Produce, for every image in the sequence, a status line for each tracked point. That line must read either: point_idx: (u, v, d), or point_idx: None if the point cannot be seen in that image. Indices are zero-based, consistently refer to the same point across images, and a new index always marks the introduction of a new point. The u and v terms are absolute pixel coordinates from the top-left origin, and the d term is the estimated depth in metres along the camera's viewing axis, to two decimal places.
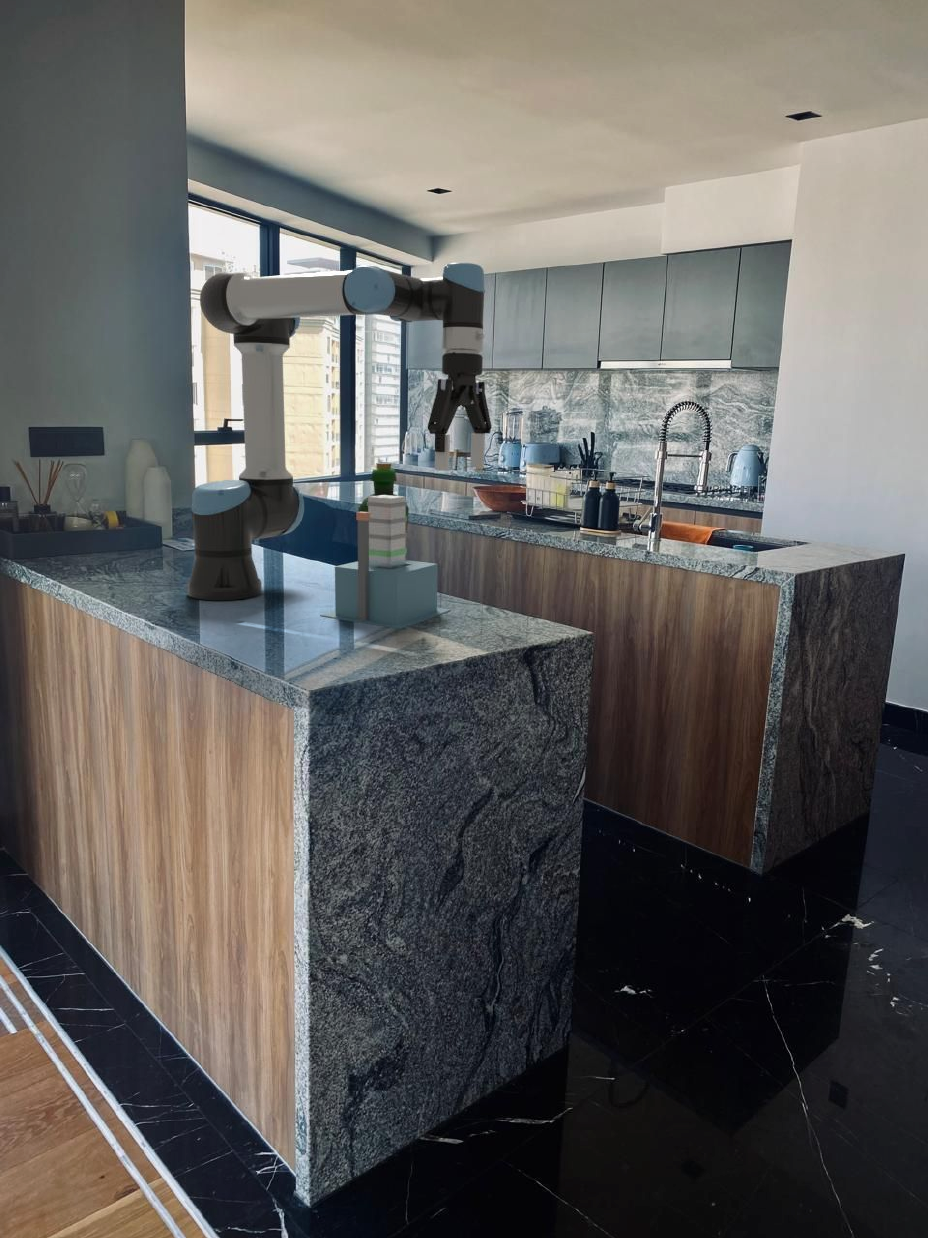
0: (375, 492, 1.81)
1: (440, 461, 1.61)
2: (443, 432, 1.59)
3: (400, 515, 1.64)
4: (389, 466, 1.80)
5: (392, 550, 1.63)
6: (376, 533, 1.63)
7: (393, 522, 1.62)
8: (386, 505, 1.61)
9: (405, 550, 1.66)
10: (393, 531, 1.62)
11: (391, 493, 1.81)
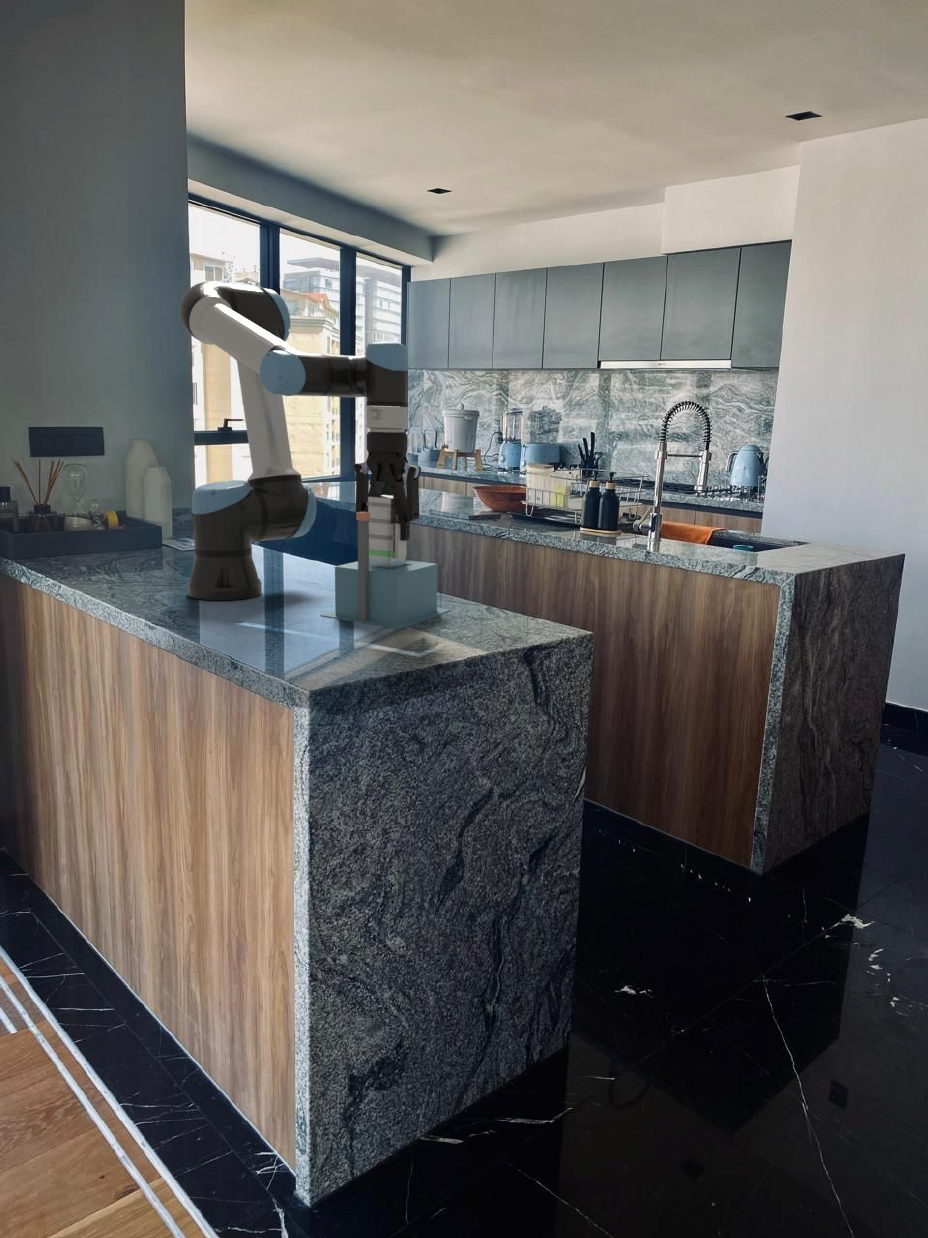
0: None
1: None
2: None
3: None
4: None
5: (392, 550, 1.63)
6: (376, 533, 1.63)
7: (393, 522, 1.62)
8: (386, 505, 1.61)
9: None
10: (393, 531, 1.62)
11: (391, 493, 1.81)
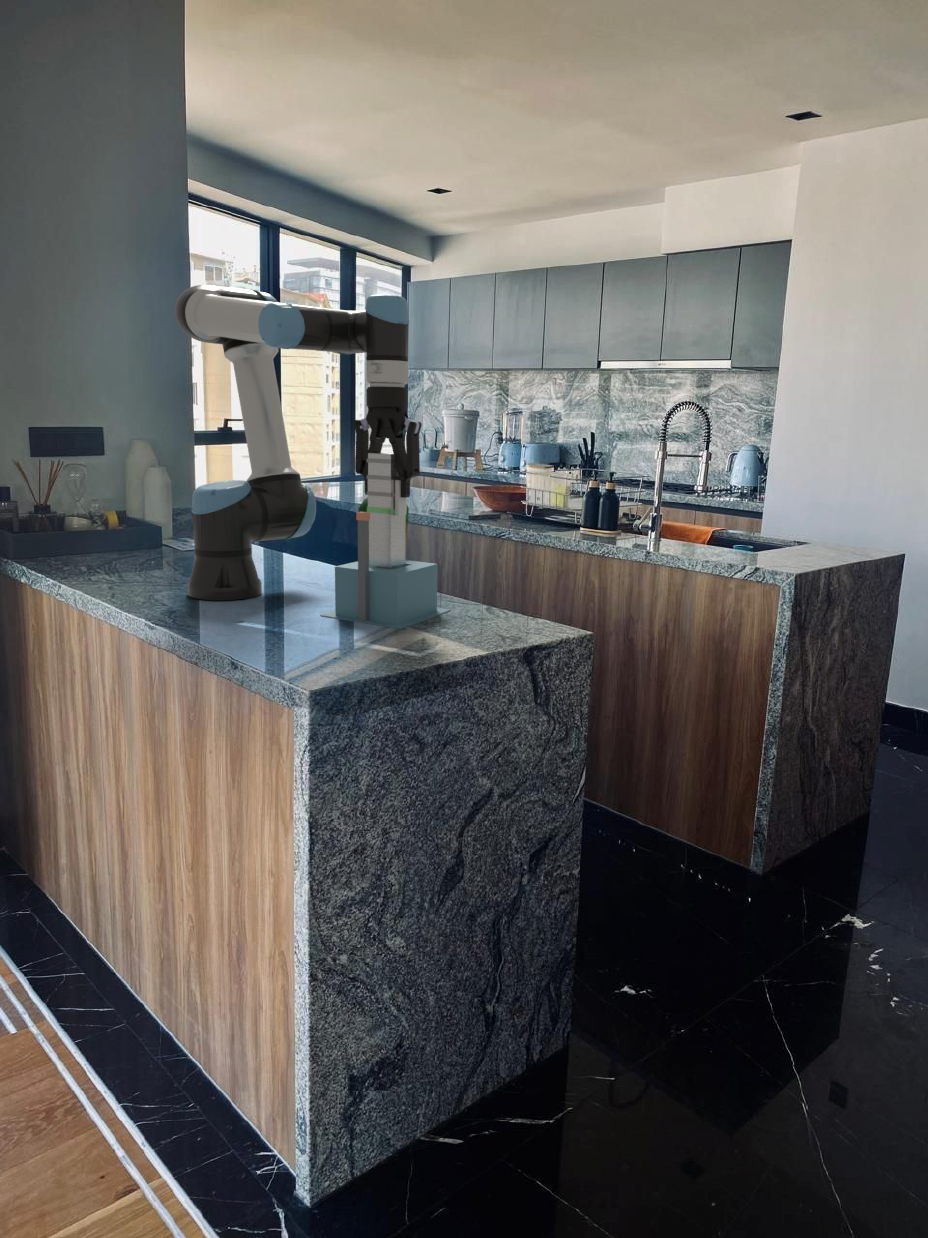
0: None
1: None
2: (364, 476, 1.64)
3: None
4: None
5: (392, 507, 1.61)
6: (376, 490, 1.61)
7: (393, 478, 1.60)
8: (386, 461, 1.59)
9: None
10: (393, 487, 1.60)
11: None
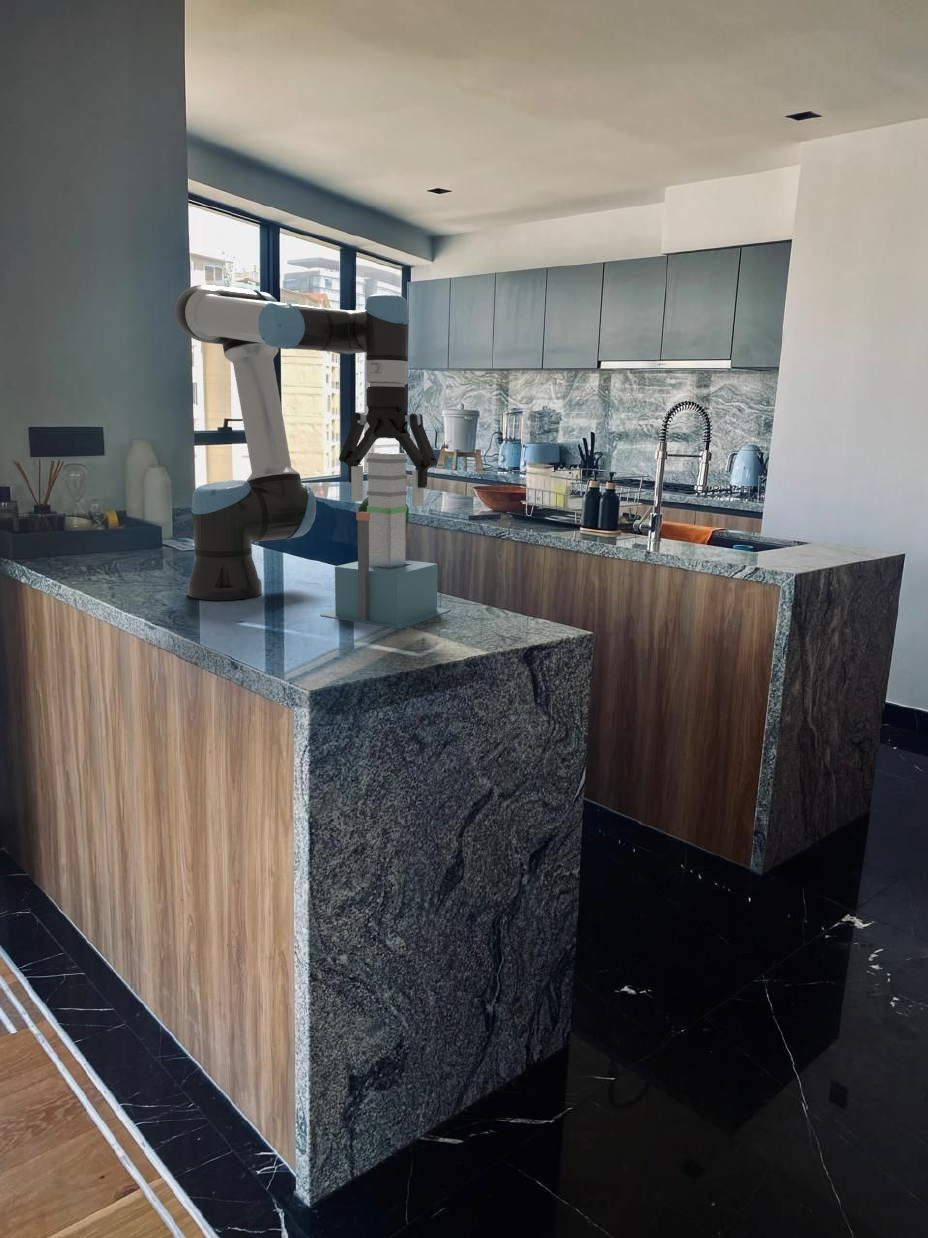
0: None
1: None
2: (348, 463, 1.65)
3: (400, 472, 1.62)
4: None
5: (392, 507, 1.61)
6: (376, 490, 1.61)
7: (393, 478, 1.60)
8: (386, 461, 1.59)
9: (405, 508, 1.65)
10: (393, 487, 1.60)
11: None
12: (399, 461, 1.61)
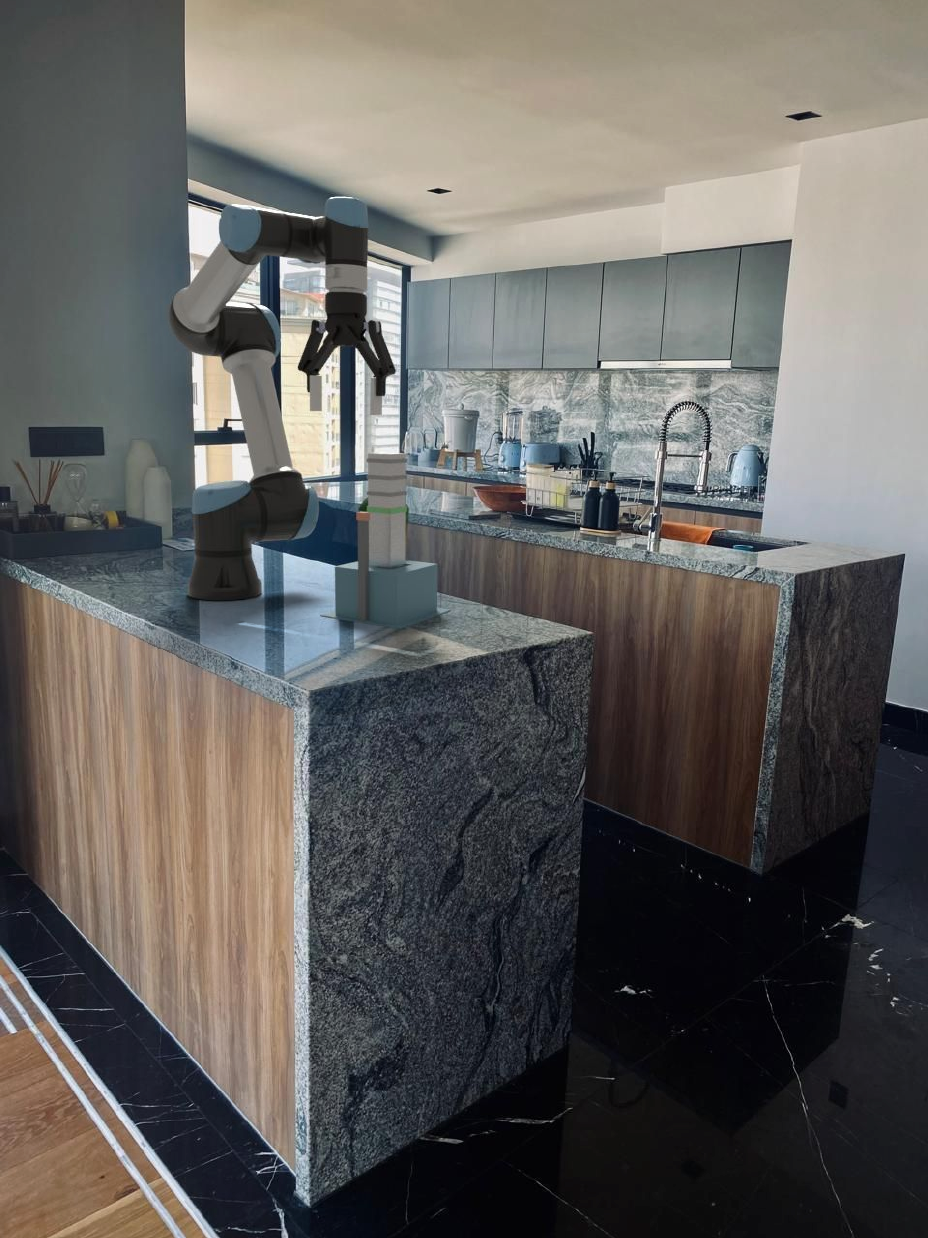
0: None
1: None
2: (306, 372, 1.65)
3: (400, 472, 1.62)
4: None
5: (392, 507, 1.61)
6: (376, 490, 1.61)
7: (393, 478, 1.60)
8: (386, 461, 1.59)
9: (405, 508, 1.65)
10: (393, 487, 1.60)
11: None
12: (399, 461, 1.61)
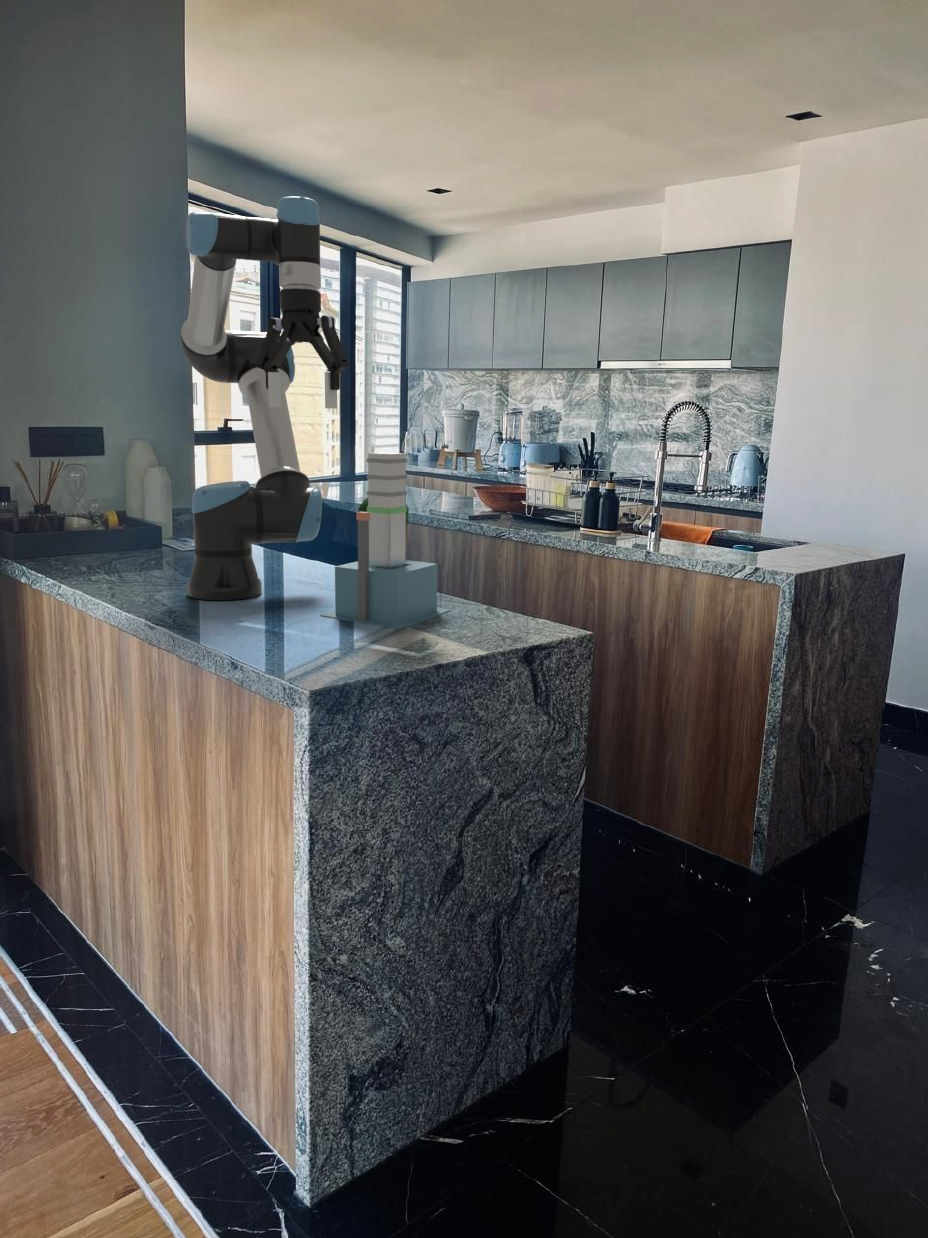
0: None
1: None
2: (264, 370, 1.68)
3: (400, 472, 1.62)
4: None
5: (392, 507, 1.61)
6: (376, 490, 1.61)
7: (393, 478, 1.60)
8: (386, 461, 1.59)
9: (405, 508, 1.65)
10: (393, 487, 1.60)
11: None
12: (399, 461, 1.61)
